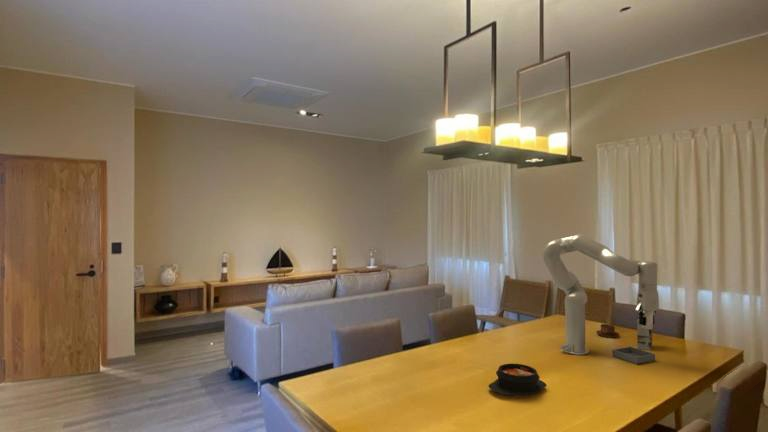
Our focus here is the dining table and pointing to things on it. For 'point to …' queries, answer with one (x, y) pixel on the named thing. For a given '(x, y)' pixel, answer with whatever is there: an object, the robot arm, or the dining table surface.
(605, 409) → the dining table surface
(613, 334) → the cup and saucer
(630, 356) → the bin
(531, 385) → the casserole
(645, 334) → the coffee box
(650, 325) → the canister
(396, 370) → the dining table surface
